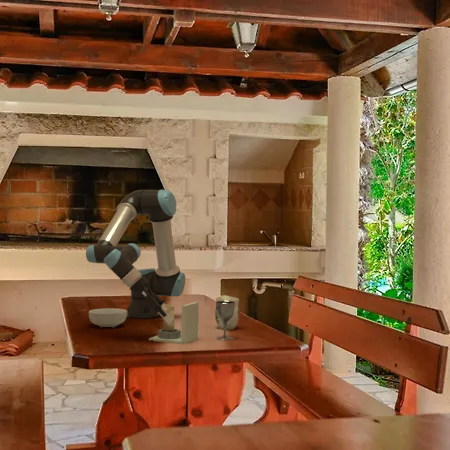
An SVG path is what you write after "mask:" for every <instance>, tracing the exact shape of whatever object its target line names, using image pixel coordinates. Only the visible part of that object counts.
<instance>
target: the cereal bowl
mask: <svg viewBox="0 0 450 450" xmlns="http://www.w3.org/2000/svg"><path fill="white" fill-rule="evenodd" d="M127 310H128V309H123V308H114V307H113V308H108V307H107V308H95V309H91V310H89V311H88V319H89V321H90V322H91V323H92V324H94V325H96V326H98V327H99V326H100V328H102V327H112V328H116V326H117V327H118V326H119V325H120V324H123V323H124V322H125V321H126V320H127V317H128V316H127Z"/></svg>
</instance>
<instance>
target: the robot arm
mask: <svg viewBox="0 0 450 450" xmlns="http://www.w3.org/2000/svg"><path fill="white" fill-rule="evenodd" d="M176 213H177V200H176V197H175V195H174V193H173V192H172V191H170V190H168V189H138V190H134V191H132V192H130V193H129V194H127V195H126V196H125V197H124V198H122V199H121V201H120V202H119V203H118V205H117V206H116V212H115V214H114V215H113V217H112V219H111V221H110V222H109V224H108V225H107V227H106V228H105V230H104V231H103V233H102V235H101V236H100V238H99V240H98V241H97V243H96V244H91V245H88V246H87V247H86V251H85V258H86V260H87V262H88V263H93V264H105V265H106V266H107V267H108V269H109V270H111V271H112V272H113V273H114V274H115V275H116V276H117V277H118V278H119V280H121V281H122V285H126V287H128V288H129V290H130V302H129V303H128V304H129V305H128V306H127V307H128V308H127V309H126V310H127V317H128V318H132V317H133V318H132V319H152V318H153V317H154V318H157V317H159V316H160V317H161V318H162V319H164V320H165V321H166V322H167V323H168V324H170V323H171V322H172V321H173V320H174V321H175V318H174V319H173V318H172V317H171V316H170V315H169V314H168V313H167V312H166V311H165V310H164V309H163V305H166V303H165V302H166V301H165V300H164V299H161V298H160V297H180V296H181V295H182V293H183V292H184V289H185V284H186V274H185V273H184V272H181V268H180V266H179V265H178V264H177V263H176V262H177V261H176V255H175V247H174V239H173V238H174V237H173V230H172V222H171V220H173V218H174V216H175V214H176ZM141 215H142V216H143V215H144V216H147V220H148V221H149V222H150V223H151V225H152V230H153V239H154V245H155V253H156V254H155V255H156V259H157V260H156V261H157V269H156V268H154V267H153V268H152V267H151V268H141V269H137V268H136V267H135V266H134V265H133V264H134V263H136V262H137V261H138V259H139V258H140V257H141V253H142V252H141V249H140V247H139V246H138V245H137V243H133V242H132V243H127V244H125V245H121V246H120V245H118V244H119V242H120V240H121V238H122V236H123V235H124V234H125V232H126V230H127V228H128V226H129V225H130V223H131V221H133V220H135V218H137V216H141ZM175 315H176V314H175V313H174V316H175Z"/></svg>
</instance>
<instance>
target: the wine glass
mask: <svg viewBox="0 0 450 450" xmlns="http://www.w3.org/2000/svg"><path fill="white" fill-rule="evenodd" d="M215 309H216V312H217V316H218V317H219V318H220V320H221V321H222V322H223V325H224V329H223V335H222V336H217V337H215V339H216V340H221V341H232V340H234V337H231V336H228V335H227V330H226V326H227V323H228V321H229V320H230V319H231V318H232V317H233V315H234V311H235V302H233V301H216V300H215Z"/></svg>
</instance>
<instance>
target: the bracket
mask: <svg viewBox="0 0 450 450" xmlns="http://www.w3.org/2000/svg"><path fill="white" fill-rule="evenodd" d="M199 304H200V303H199V302H198V301H194V302H190V303H187V304H183V305H181V329H178V328H174V332H164V328H161V329H158V330H157V335H155V336H151V337H149V338H148V341H151V340H153V341H154V342H160V343H161V342H162V343H163V342H164V343H173V344H180V345H181V344H182V345H186V344H188V343H191V342H194V341H196V340H199ZM153 341H152V342H153Z"/></svg>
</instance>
